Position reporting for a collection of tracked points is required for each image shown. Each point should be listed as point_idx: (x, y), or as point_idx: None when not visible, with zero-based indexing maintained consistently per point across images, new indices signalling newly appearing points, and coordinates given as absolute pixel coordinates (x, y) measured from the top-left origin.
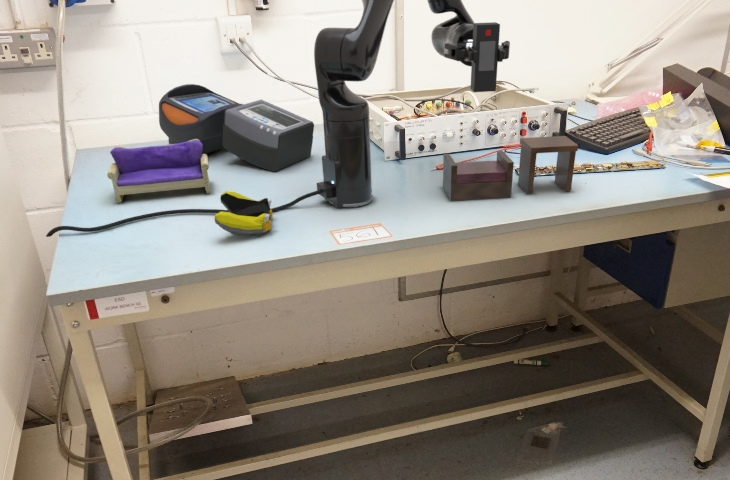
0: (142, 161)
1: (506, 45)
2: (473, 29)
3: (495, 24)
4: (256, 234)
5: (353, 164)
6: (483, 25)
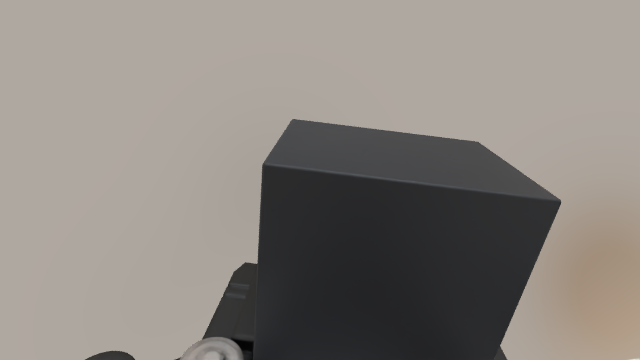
0: None
1: (124, 355)
2: (527, 251)
3: (328, 125)
4: None
5: None
6: (425, 139)
